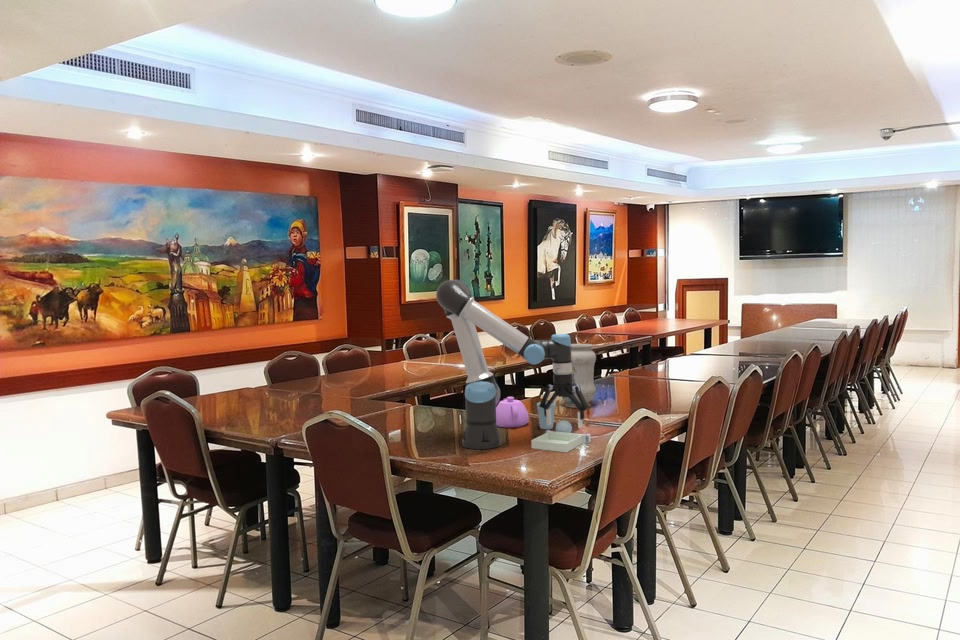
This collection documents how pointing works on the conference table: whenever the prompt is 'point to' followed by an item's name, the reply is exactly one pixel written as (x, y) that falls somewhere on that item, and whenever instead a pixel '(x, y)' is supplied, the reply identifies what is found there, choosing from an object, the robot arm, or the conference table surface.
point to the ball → (563, 426)
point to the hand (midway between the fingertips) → (564, 426)
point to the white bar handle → (584, 437)
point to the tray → (556, 442)
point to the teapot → (511, 413)
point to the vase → (582, 372)
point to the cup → (543, 419)
